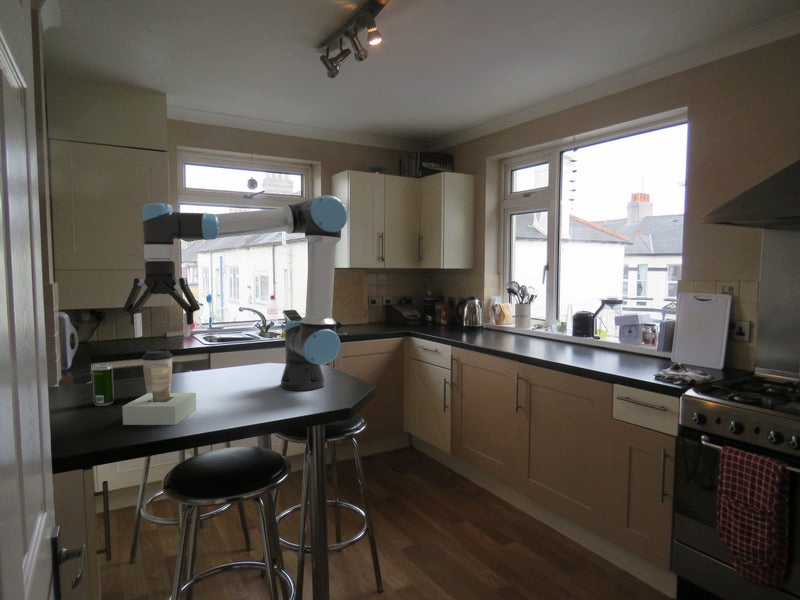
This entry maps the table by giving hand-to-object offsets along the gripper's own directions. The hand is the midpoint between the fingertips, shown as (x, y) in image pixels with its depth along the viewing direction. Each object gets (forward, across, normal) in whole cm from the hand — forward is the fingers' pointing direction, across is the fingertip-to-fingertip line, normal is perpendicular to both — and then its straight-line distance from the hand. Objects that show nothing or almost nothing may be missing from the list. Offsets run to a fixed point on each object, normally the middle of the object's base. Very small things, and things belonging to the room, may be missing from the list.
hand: (163, 336), depth 142 cm
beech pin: (+22, +1, +1) cm, 22 cm away
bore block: (+23, +1, +1) cm, 23 cm away
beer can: (+23, +25, -12) cm, 36 cm away
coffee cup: (+23, +12, -22) cm, 34 cm away
